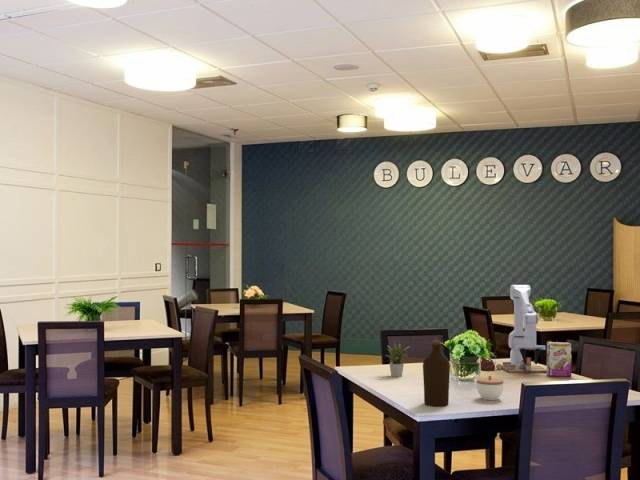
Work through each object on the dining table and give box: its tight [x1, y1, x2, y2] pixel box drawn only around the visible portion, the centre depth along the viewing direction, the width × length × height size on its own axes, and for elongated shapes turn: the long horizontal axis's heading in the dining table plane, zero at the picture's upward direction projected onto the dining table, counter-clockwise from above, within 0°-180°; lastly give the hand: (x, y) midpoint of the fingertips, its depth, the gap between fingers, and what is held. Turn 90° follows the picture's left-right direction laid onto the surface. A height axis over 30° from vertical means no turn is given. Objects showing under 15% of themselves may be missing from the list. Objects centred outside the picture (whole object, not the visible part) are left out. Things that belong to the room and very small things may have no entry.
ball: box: [495, 363, 503, 371], centre depth 367 cm, size 3×3×3 cm
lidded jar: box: [476, 375, 504, 401], centre depth 290 cm, size 11×11×9 cm
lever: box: [519, 357, 532, 371], centre depth 363 cm, size 16×5×6 cm, turn 173°
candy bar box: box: [546, 341, 573, 378], centre depth 348 cm, size 11×5×16 cm, turn 84°
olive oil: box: [422, 339, 451, 407], centre depth 279 cm, size 11×11×25 cm
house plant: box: [384, 342, 411, 378], centre depth 344 cm, size 14×14×16 cm
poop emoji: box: [480, 358, 497, 372], centre depth 367 cm, size 10×8×9 cm
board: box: [501, 361, 547, 374], centre depth 364 cm, size 15×20×4 cm
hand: (530, 363), depth 356 cm, fingers open, 5 cm apart
